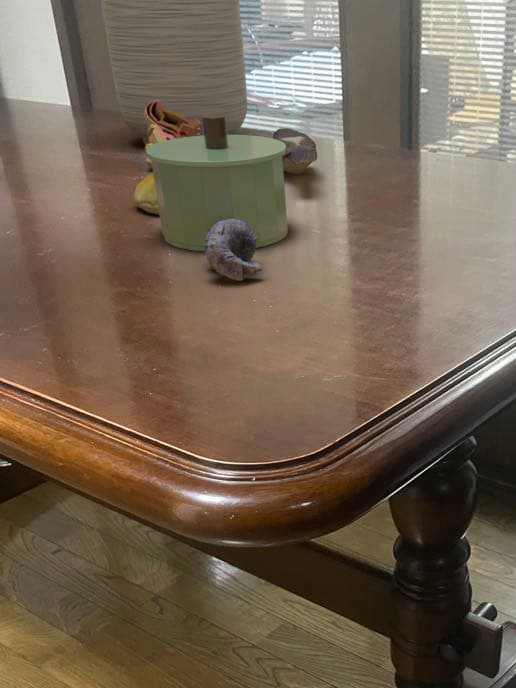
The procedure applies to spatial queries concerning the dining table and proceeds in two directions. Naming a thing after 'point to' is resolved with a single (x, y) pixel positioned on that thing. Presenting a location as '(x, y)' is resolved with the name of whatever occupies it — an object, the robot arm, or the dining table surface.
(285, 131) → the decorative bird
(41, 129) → the dining table surface
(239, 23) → the vase
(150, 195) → the bread roll
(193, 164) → the pot lid
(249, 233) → the seashell
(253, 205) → the pot
